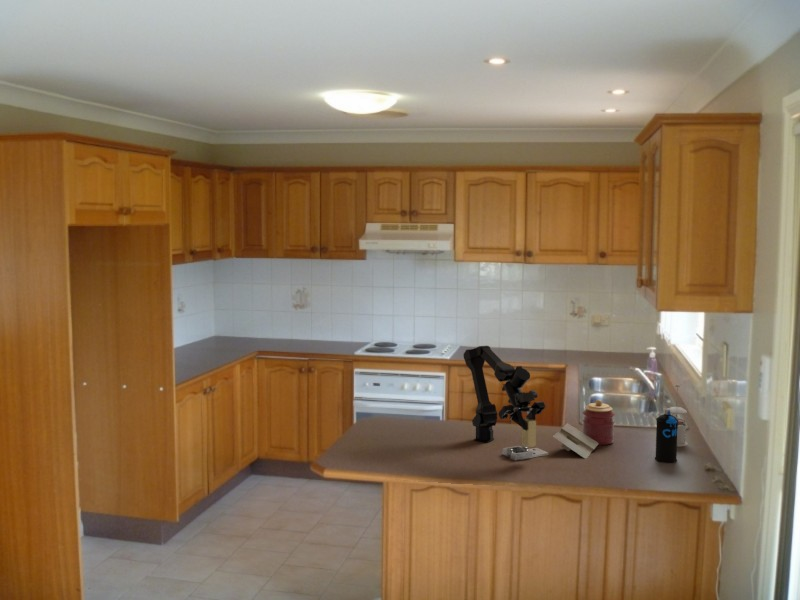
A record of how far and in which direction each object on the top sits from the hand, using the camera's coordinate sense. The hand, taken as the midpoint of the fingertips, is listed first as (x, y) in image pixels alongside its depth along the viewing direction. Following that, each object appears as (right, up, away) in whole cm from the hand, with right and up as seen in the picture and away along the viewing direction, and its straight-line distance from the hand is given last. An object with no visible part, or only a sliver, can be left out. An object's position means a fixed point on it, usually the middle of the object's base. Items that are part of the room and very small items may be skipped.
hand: (530, 429), depth 300 cm
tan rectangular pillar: (0, -6, +2) cm, 7 cm away
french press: (+65, -10, +28) cm, 71 cm away
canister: (+33, -10, +30) cm, 46 cm away
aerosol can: (+53, -13, +5) cm, 55 cm away
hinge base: (0, -12, +11) cm, 16 cm away
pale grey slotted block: (+21, -12, +16) cm, 29 cm away
